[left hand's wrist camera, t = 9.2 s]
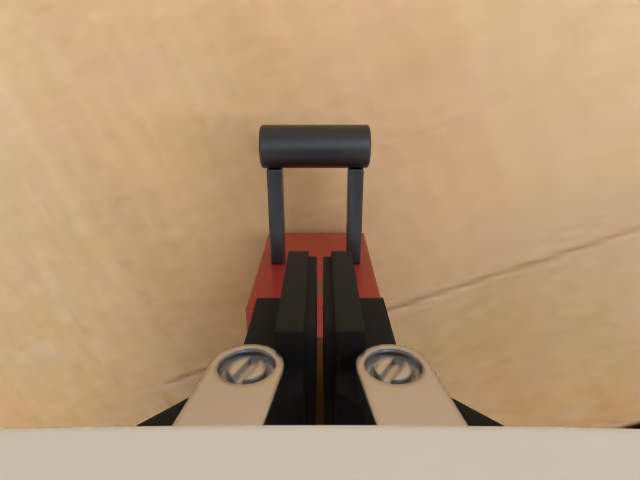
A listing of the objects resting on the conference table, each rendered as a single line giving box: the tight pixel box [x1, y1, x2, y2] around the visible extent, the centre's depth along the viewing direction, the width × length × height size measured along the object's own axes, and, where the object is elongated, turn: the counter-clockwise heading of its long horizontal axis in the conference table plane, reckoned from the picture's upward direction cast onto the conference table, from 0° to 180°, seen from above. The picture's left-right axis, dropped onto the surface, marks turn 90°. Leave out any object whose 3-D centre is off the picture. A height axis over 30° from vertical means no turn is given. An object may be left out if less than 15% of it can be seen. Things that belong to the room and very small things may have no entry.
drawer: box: [246, 125, 381, 425], centre depth 21 cm, size 20×5×8 cm, turn 0°
